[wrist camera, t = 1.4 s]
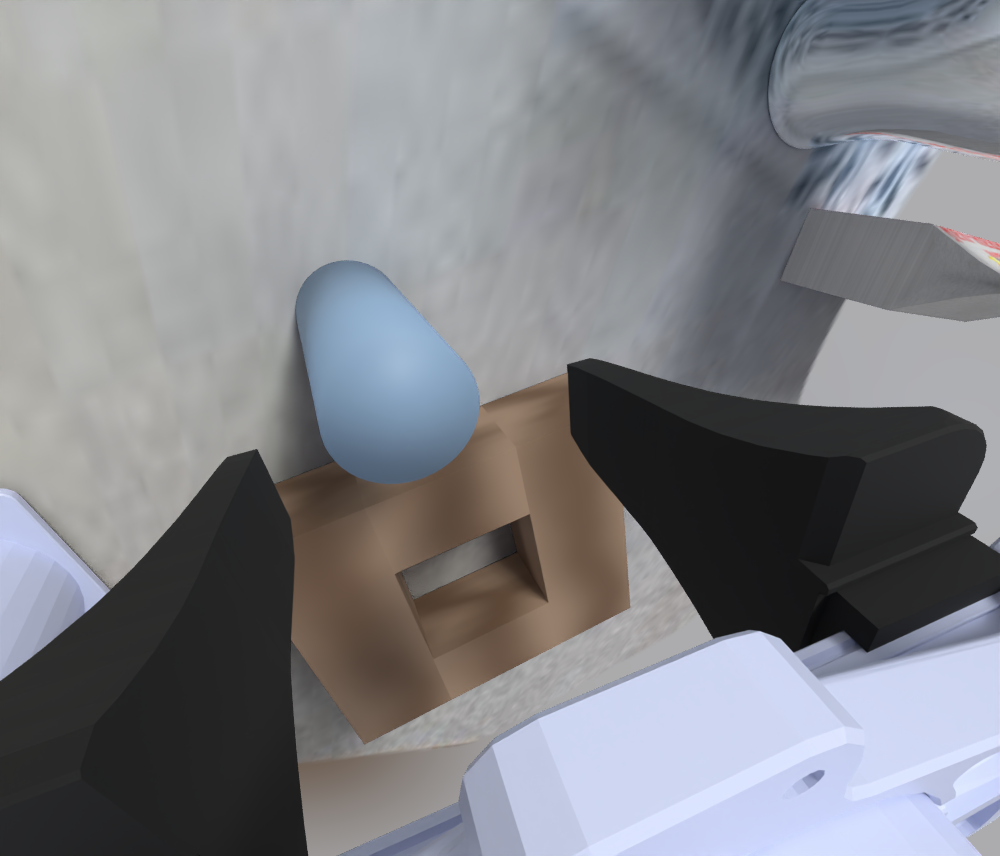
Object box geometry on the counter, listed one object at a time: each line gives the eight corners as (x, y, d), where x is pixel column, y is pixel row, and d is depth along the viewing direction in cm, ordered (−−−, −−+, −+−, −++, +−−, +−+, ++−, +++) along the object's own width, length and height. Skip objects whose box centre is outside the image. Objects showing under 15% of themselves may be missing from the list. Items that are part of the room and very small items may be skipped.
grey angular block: (855, 293, 31) (1067, 348, 23) (779, 280, 28) (991, 338, 20) (886, 228, 29) (1125, 263, 21) (809, 207, 26) (1052, 239, 18)
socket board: (352, 677, 29) (364, 744, 26) (238, 497, 22) (235, 561, 18) (593, 561, 33) (630, 607, 30) (570, 371, 25) (616, 406, 22)
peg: (319, 375, 20) (353, 506, 13) (277, 278, 18) (289, 372, 11) (413, 343, 21) (493, 449, 14) (384, 247, 19) (460, 315, 12)
